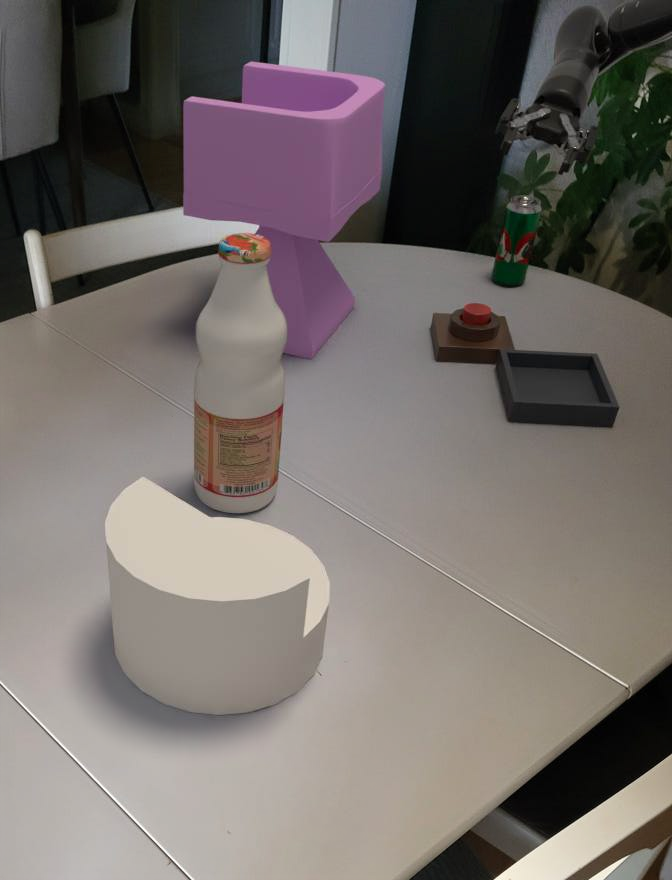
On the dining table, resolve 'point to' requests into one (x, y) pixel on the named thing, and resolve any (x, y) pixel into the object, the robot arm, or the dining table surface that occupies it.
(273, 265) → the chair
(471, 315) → the button
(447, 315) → the block
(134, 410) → the dining table surface
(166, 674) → the notched white cylinder
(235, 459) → the fruit juice
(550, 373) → the tray
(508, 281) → the soda can
